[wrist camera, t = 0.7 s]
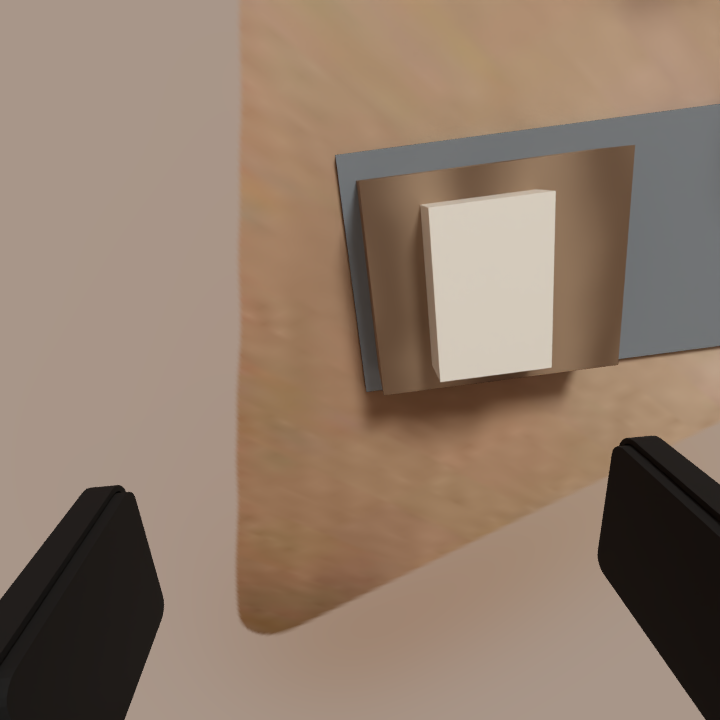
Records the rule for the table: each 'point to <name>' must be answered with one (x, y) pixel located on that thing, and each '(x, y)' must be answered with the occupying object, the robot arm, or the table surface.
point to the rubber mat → (646, 224)
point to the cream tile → (490, 283)
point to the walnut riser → (571, 257)
